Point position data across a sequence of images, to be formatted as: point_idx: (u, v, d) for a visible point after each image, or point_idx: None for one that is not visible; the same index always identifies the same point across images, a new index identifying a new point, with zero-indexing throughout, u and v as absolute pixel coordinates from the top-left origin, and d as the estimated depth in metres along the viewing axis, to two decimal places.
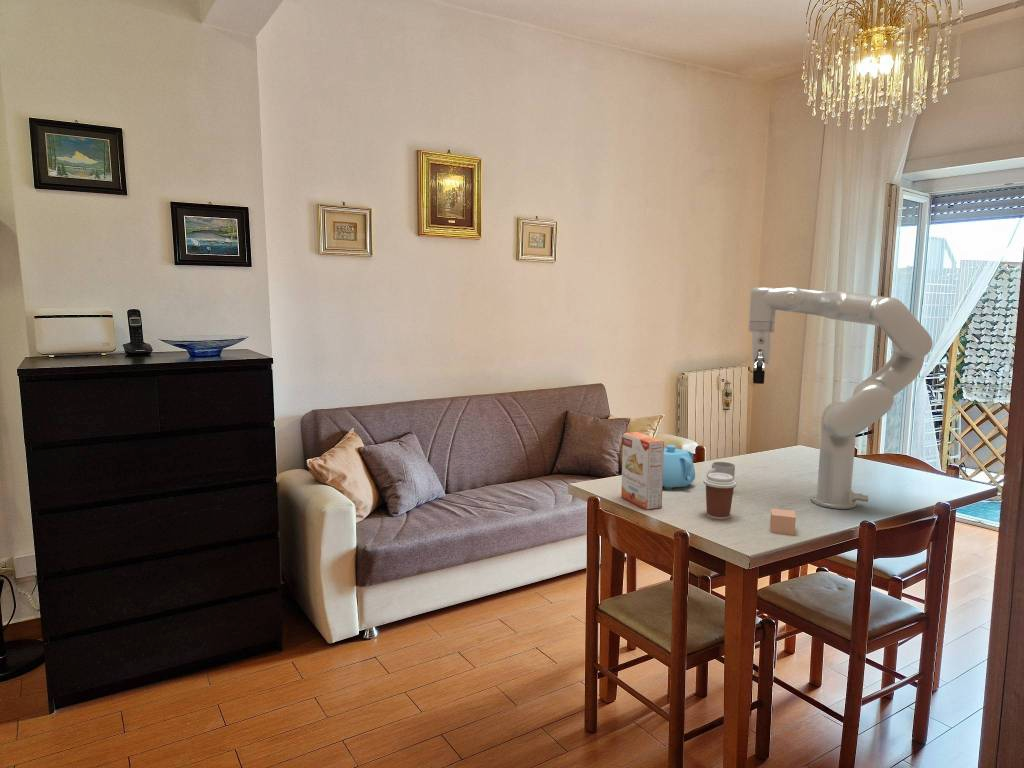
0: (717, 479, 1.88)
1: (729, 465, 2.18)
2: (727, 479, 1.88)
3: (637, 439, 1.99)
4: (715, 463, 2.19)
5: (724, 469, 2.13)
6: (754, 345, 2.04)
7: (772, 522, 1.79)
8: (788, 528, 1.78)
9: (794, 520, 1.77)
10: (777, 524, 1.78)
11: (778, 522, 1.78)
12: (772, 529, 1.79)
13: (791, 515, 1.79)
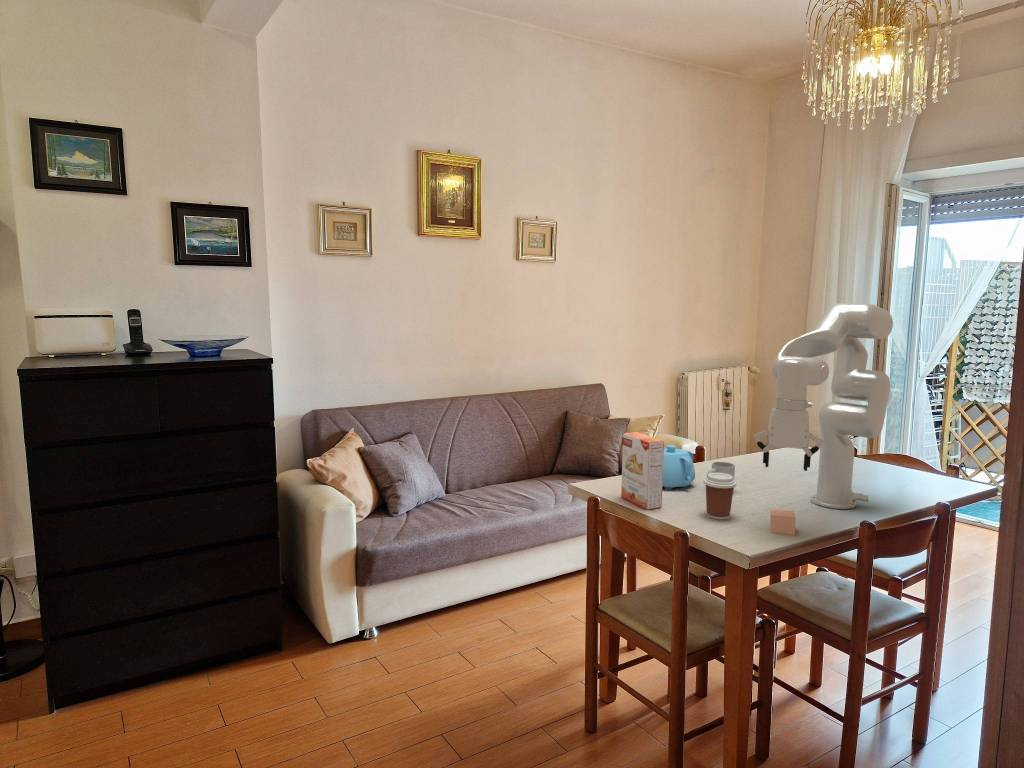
0: (717, 479, 1.88)
1: (729, 465, 2.18)
2: (727, 479, 1.88)
3: (637, 439, 1.99)
4: (715, 463, 2.19)
5: (724, 469, 2.13)
6: (808, 427, 1.74)
7: (772, 522, 1.79)
8: (788, 528, 1.78)
9: (794, 520, 1.77)
10: (777, 524, 1.78)
11: (778, 522, 1.78)
12: (772, 529, 1.79)
13: (791, 515, 1.79)
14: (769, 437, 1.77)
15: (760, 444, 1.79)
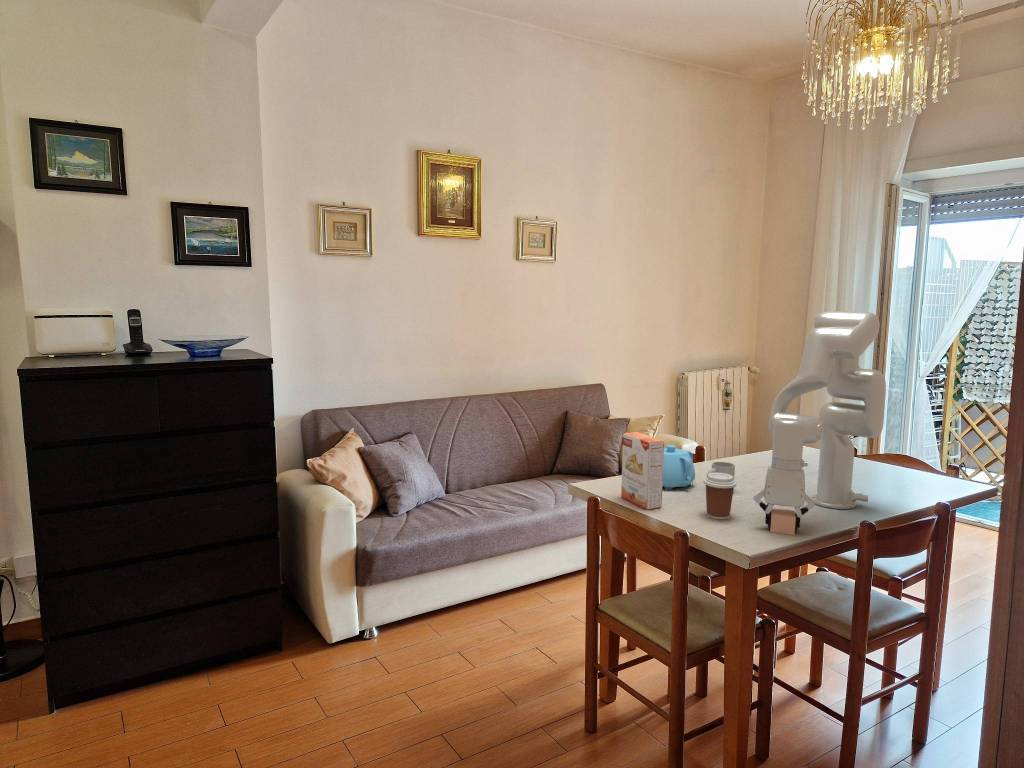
0: (717, 479, 1.88)
1: (729, 465, 2.18)
2: (727, 479, 1.88)
3: (637, 439, 1.99)
4: (715, 463, 2.19)
5: (724, 469, 2.13)
6: (803, 487, 1.76)
7: (772, 522, 1.79)
8: (788, 527, 1.77)
9: (794, 520, 1.77)
10: (777, 524, 1.78)
11: (777, 522, 1.78)
12: (772, 529, 1.79)
13: (791, 514, 1.79)
14: (766, 495, 1.79)
15: (762, 505, 1.81)
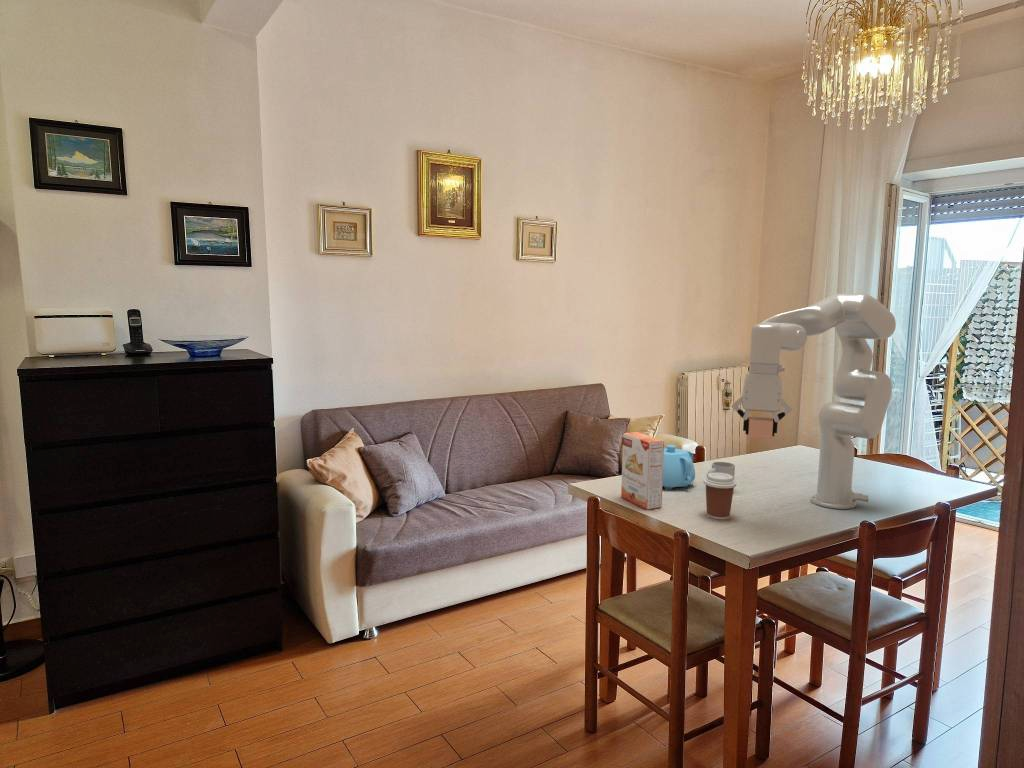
0: (717, 479, 1.88)
1: (729, 465, 2.18)
2: (727, 479, 1.88)
3: (637, 439, 1.99)
4: (715, 463, 2.19)
5: (724, 469, 2.13)
6: (780, 391, 1.78)
7: (750, 427, 1.80)
8: (765, 432, 1.79)
9: (771, 424, 1.78)
10: (755, 429, 1.80)
11: (755, 427, 1.80)
12: (750, 434, 1.80)
13: (769, 419, 1.80)
14: (743, 401, 1.81)
15: (740, 412, 1.82)
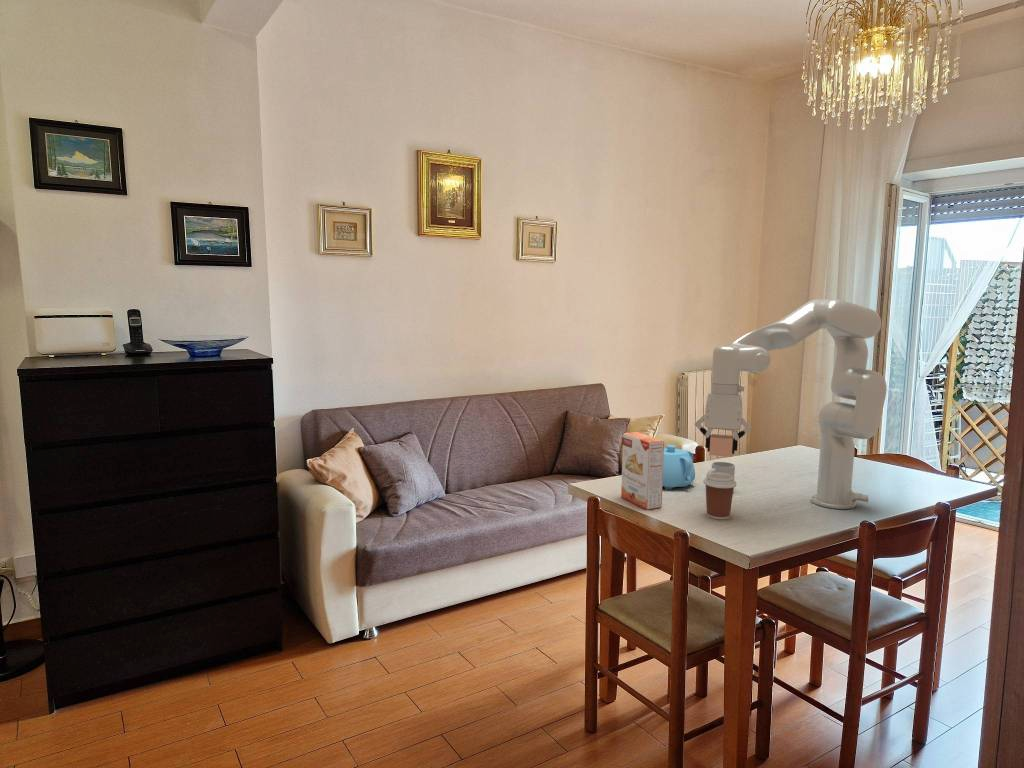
0: (717, 479, 1.88)
1: (729, 465, 2.18)
2: (727, 479, 1.88)
3: (637, 439, 1.99)
4: (715, 463, 2.19)
5: (723, 469, 2.13)
6: (740, 410, 1.85)
7: (711, 445, 1.87)
8: (725, 450, 1.86)
9: (731, 442, 1.85)
10: (715, 447, 1.87)
11: (716, 444, 1.87)
12: (711, 451, 1.88)
13: (729, 438, 1.87)
14: (705, 420, 1.88)
15: (702, 430, 1.90)
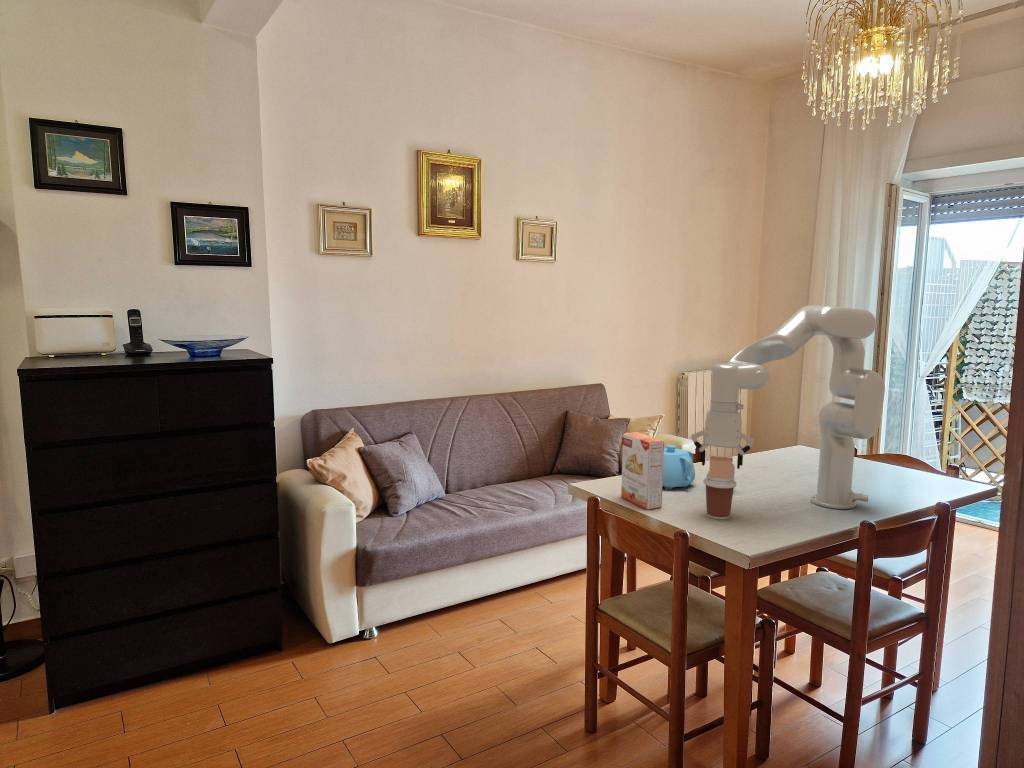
0: (717, 479, 1.88)
1: None
2: (727, 479, 1.88)
3: (637, 439, 1.99)
4: None
5: None
6: (739, 428, 1.86)
7: (710, 467, 1.88)
8: (725, 472, 1.87)
9: (730, 464, 1.86)
10: (715, 469, 1.88)
11: (715, 467, 1.88)
12: (710, 474, 1.89)
13: (729, 460, 1.88)
14: (704, 437, 1.89)
15: (697, 444, 1.91)
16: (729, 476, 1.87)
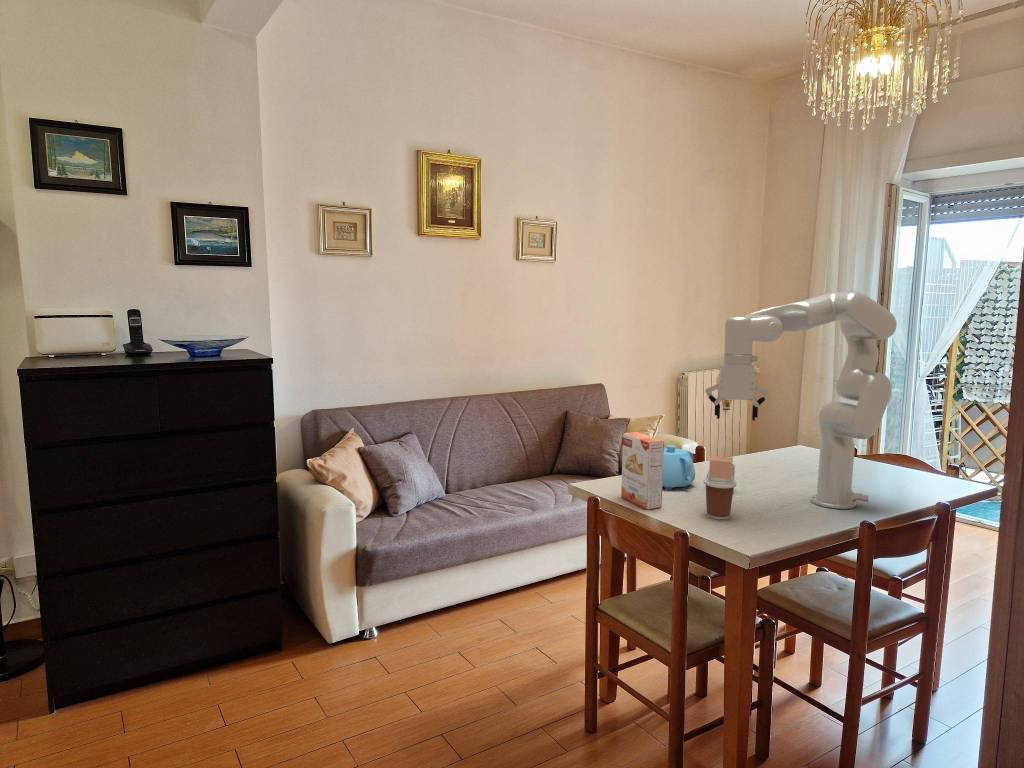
0: (717, 479, 1.88)
1: None
2: (727, 479, 1.88)
3: (637, 439, 1.99)
4: None
5: None
6: (754, 380, 1.86)
7: (710, 467, 1.88)
8: (725, 472, 1.87)
9: (730, 464, 1.86)
10: (715, 469, 1.88)
11: (715, 467, 1.88)
12: (710, 474, 1.89)
13: (729, 460, 1.88)
14: (719, 390, 1.90)
15: (711, 397, 1.92)
16: (729, 476, 1.87)
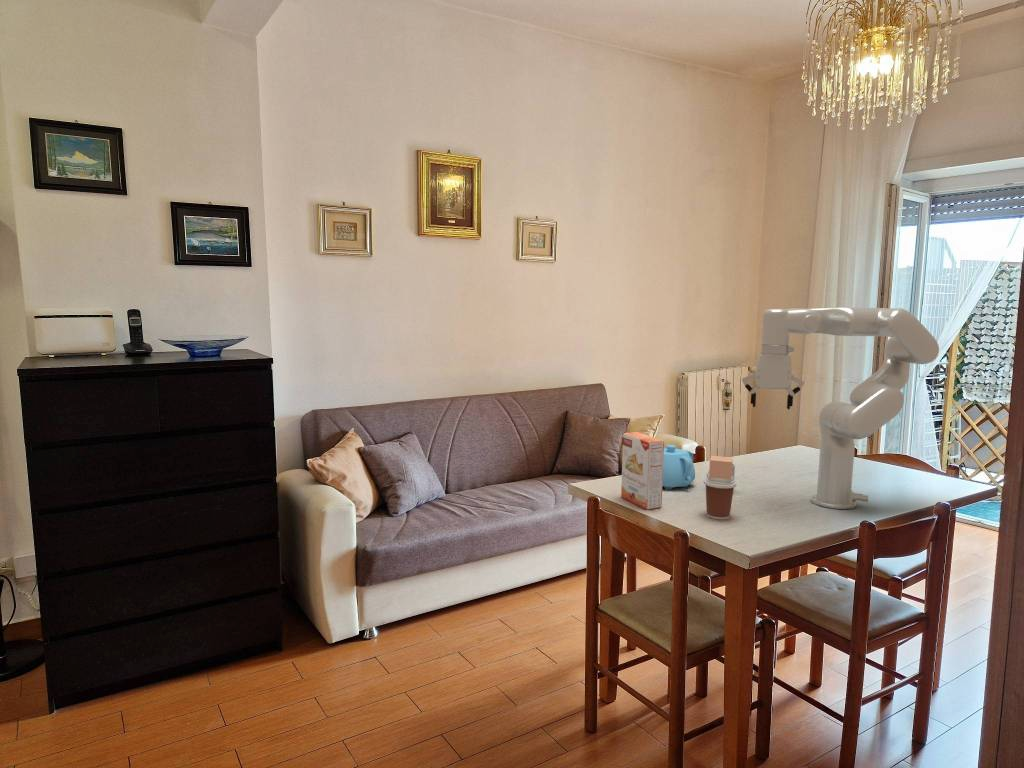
0: (717, 479, 1.88)
1: None
2: (727, 479, 1.88)
3: (637, 439, 1.99)
4: None
5: None
6: (790, 370, 1.94)
7: (710, 467, 1.88)
8: (725, 472, 1.87)
9: (730, 464, 1.86)
10: (715, 469, 1.88)
11: (715, 467, 1.88)
12: (710, 474, 1.89)
13: (729, 460, 1.88)
14: (756, 379, 1.98)
15: (748, 386, 2.00)
16: (729, 476, 1.87)
